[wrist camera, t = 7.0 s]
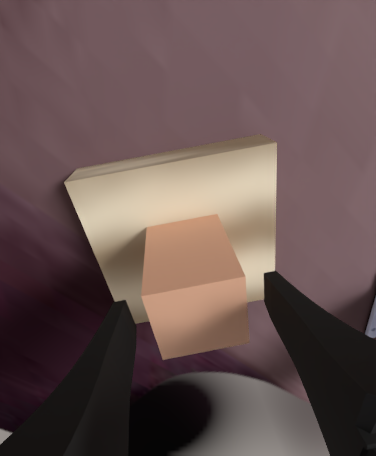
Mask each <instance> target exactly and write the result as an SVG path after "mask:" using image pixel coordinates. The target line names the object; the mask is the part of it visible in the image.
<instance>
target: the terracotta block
mask: <svg viewBox="0 0 376 456" xmlns="http://www.w3.org/2000/svg"><path fill="white" fill-rule="evenodd" d="M141 298H142V300H143V303H144V306H145V309H146V312H147V315H148V318H149V321H150V324H151V326H152V329H153V332H154V335H155V338H156V341H157V344H158V347H159V349H160V352H161V355H162V358H163V360H164V359H170V358H175V357H180V356H185V355H190V354H195V353H201V352H206V351H211V350H216V349H221V348H226V347H231V346H237V345H242V344H247V343H249V326H248V310H247V293H246V276H245V274H244V272H243V270H242V268H241V265H240V263H239V261H238V259H237V256H236V254H235V252H234V250H233V248H232V245H231V243H230V241H229V239H228V236H227V234H226V232H225V230H224V228H223V225H222V223H221V221H220V219H219V216H218V214H214V215H209V216H203V217H198V218H193V219H188V220H182V221H177V222H172V223H167V224H161V225H156V226H151V227H147V230H146V242H145V254H144V267H143V279H142V292H141Z"/></svg>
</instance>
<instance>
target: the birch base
mask: <svg viewBox="0 0 376 456" xmlns="http://www.w3.org/2000/svg"><path fill="white" fill-rule="evenodd" d="M276 169H277V142H275V141H273V140H271V139H269V138H267V137H265V136H263V135H261V134H259V135H254V136H249V137H243V138H238V139H233V140H227V141H222V142H217V143H211V144H206V145H201V146H195V147H190V148H185V149H179V150H174V151H169V152H163V153H158V154H153V155H147V156H142V157H137V158H131V159H126V160H121V161H115V162H110V163H105V164H99V165H94V166H89V167H83V168H78V169H76V170H75V171H74V172H73V174H72V175H71V176H70V177H69V178H68V179H67V180H66V181H65V182H64V184H65V186H66V188H67V191H68V193H69V195H70V198H71V200H72V202H73V205H74V207H75V209H76V212H77V214H78V216H79V219H80V221H81V224H82V226H83V228H84V231H85V233H86V235H87V238H88V240H89V242H90V245H91V247H92V249H93V252H94V254H95V256H96V259H97V261H98V263H99V266H100V268H101V270H102V273H103V275H104V277H105V280H106V282H107V284H108V287H109V289H110V292H111V294H112V296H113V299H114V301H115V302H116V301H122V300H126V302H127V304H128V307H129V309H130V312H131V314H132V317H133V319H134V322H135V324H136V323H141V322H147V321H149V318H148V315H147V312H146V309H145V306H144V303H143V300H142V298H141V292H142V279H143V267H144V254H145V242H146V230H147V227H151V226H156V225H161V224H167V223H172V222H177V221H182V220H188V219H193V218H198V217H203V216H209V215H214V214H218V216H219V219H220V221H221V223H222V225H223V228H224V230H225V232H226V234H227V236H228V239H229V241H230V243H231V245H232V248H233V250H234V252H235V254H236V256H237V259H238V261H239V263H240V265H241V268H242V270H243V272H244V274H245V276H246V293H247V302H252V301H257V300H262V299H264V273H266V272H272V271H275V233H276Z"/></svg>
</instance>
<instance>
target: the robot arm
mask: <svg viewBox="0 0 376 456" xmlns="http://www.w3.org/2000/svg"><path fill="white" fill-rule="evenodd" d="M264 302H265V305H266V307H267V310H268V313H269V315H270V318H271V320H272V322H273V324H274V326H275V328H276V330H277V332H278V334H279V336H280V338H281V340H282V341H283V343H284V345H285V347H286V349H287V351H288V353H289V355H290V357H291V359H292V360H293V363H294V365H295V367H296V369H297V371H298V374H299V376H300V378H301V381H302V383H303V386H304V388H305V390H306V393H307V396H308V398H309V401H310V403H311V406H312V408H313V411H314V413H315V416H316V418H317V421H318V424H319V426H320V429H321V432H322V434H323V437H324V439H325V442H326V445H327V448H328V451H329V454H330V456H376V340H375V339H373V338H375V337H376V297H375V301H374V304H373V308H372V311H371V315H370V318H369V322H368V325H367V328H366V332H365V334H363V333H362V332H360V331H358V330H356V329H354V328H352V327H351V326H349V325H347V324H345V323H344V322H342V321H341V320H339V319H337V318H336V317H334V316H333V315H331V314H330V313H328V312H327V311H325V310H324V309H322V308H321V307H320V306H318V305H317V304H315V303H314V302H313V301H311V300H310V299H309V298H308V297H306V296H305V295H304V294H302V293H301V292H300V291H299V290H297V289H296V288H295V287H294V286H293V285H291V284H290V283H289V282H288V281H287V280H286V279H285V278H283V277H282V276H281V275H280V274H279V273H278V272H276V271H272V272H266V273H264ZM135 352H136V324H135V322H134V319H133V317H132V314H131V312H130V309H129V307H128V304H127V302H126V300H122V301H116V302H114V303H113V304H112V306H111V308H110V309H109V311H108V313H107V315H106V317H105V318H104V320H103V322H102V324H101V325H100V327H99V329H98V330H97V332H96V334H95V335H94V337H93V339H92V340H91V342H90V343H89V345H88V346H87V348H86V349H85V351H84V352H83V354H82V355H81V357H80V358H79V360H78V361H77V362H76V364H75V365H74V366H73V368H72V369H71V370H70V372H69V373H68V374H67V376H66V377H65V378H64V379H63V381H62V382H61V383H60V384H59V385H58V387H57V388H56V389H55V390H54V391H53V392H52V393H51V395H50V396H49V397H48V398H47V399H46V400H45V401H44V402H43V404H42V405H41V406H40V407H39V408H38V409H37V410H36V411H35V412H34V413H33V414H32V415H31V416H30V417H29V418H28V419H27V420H26V421H25V422H24V423H23V424H22V425H21V426H20V427H19V428H18V429H17V430H16V431H15V432H14V433H12V434H11V435H10V436H9V437H8V438H7V439H6V440H5V441H4V442H3V443H2V444H1V445H0V456H128V435H129V433H128V432H129V403H130V391H131V383H132V375H133V368H134V360H135Z"/></svg>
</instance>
